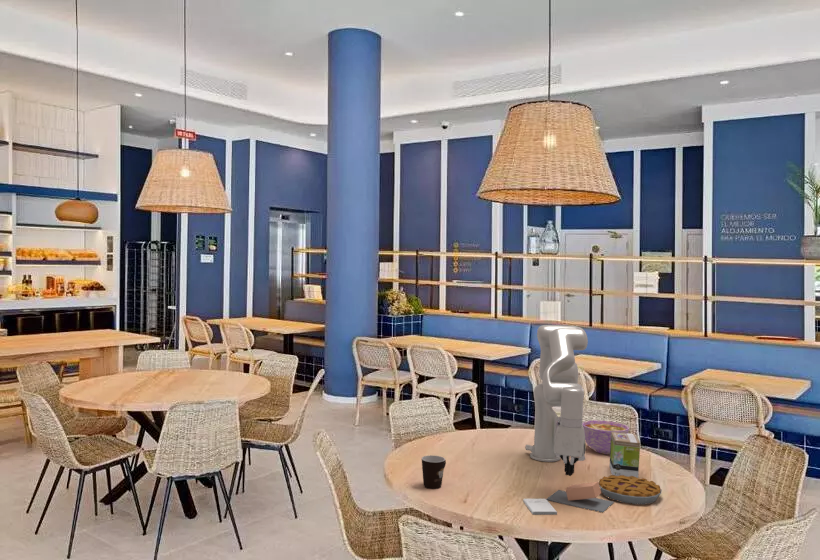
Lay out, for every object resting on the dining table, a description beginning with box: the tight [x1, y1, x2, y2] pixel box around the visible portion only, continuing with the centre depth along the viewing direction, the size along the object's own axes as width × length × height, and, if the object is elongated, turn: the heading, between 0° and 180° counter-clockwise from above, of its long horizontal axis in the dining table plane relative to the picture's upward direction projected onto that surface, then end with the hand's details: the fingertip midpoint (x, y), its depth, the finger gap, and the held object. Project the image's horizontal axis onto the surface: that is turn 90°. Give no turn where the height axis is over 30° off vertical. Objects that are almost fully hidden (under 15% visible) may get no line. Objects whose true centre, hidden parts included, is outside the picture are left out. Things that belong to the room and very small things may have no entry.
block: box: [565, 481, 602, 501], centre depth 238 cm, size 4×6×10 cm
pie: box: [598, 474, 662, 505], centre depth 247 cm, size 22×22×5 cm
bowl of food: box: [582, 419, 630, 455], centre depth 304 cm, size 20×20×12 cm
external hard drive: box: [522, 498, 558, 516], centre depth 231 cm, size 2×8×12 cm
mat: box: [545, 489, 615, 513], centre depth 238 cm, size 20×12×1 cm, turn 57°
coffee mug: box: [421, 454, 447, 490], centre depth 250 cm, size 12×9×10 cm
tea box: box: [608, 432, 641, 478], centre depth 272 cm, size 15×10×15 cm, turn 168°
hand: (569, 474), depth 240 cm, fingers closed
